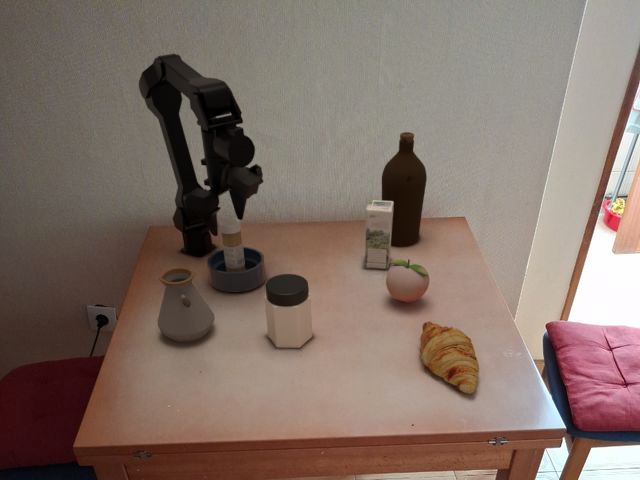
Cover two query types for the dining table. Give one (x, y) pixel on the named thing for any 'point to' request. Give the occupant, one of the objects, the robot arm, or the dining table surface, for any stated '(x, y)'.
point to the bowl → (237, 280)
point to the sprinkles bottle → (232, 244)
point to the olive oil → (405, 191)
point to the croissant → (450, 356)
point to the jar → (288, 310)
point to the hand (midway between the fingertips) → (228, 227)
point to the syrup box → (378, 234)
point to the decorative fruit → (407, 280)
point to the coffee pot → (183, 307)
